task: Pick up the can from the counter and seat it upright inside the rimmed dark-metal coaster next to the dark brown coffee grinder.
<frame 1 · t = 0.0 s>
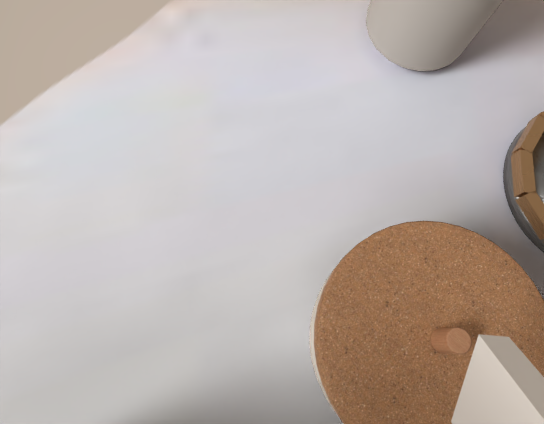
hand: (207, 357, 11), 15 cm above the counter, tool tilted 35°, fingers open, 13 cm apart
can: (410, 36, 33), on the counter
lidded jar: (382, 340, 26), on the counter
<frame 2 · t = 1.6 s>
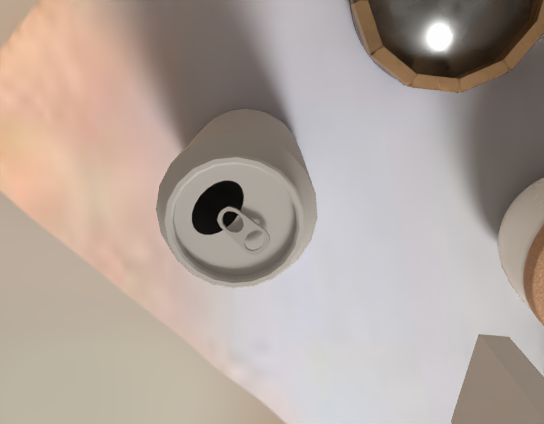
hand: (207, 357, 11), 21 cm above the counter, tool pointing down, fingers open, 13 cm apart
can: (247, 161, 30), on the counter
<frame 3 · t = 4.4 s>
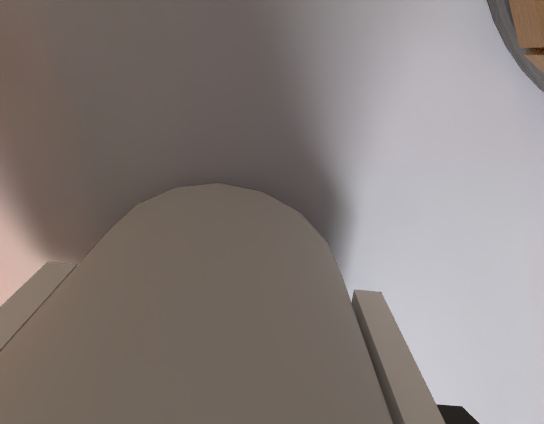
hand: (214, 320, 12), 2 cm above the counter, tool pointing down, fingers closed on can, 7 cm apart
can: (220, 287, 14), on the counter, touching gripper
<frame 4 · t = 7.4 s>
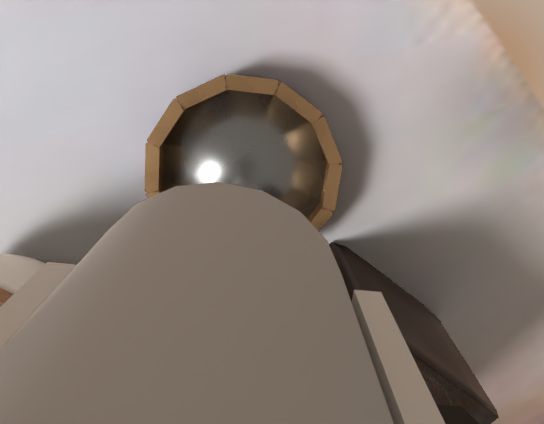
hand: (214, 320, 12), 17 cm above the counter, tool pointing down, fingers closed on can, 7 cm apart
can: (220, 286, 14), point 15 cm above the counter, touching gripper
coaster: (244, 169, 28), on the counter
dark brown coffee grinder: (315, 346, 33), on the counter
lidded jar: (35, 297, 31), on the counter
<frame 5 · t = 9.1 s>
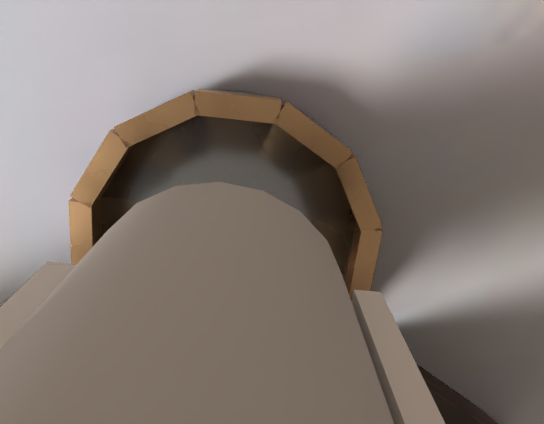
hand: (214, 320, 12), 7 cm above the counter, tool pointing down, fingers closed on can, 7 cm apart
can: (220, 286, 14), point 5 cm above the counter, touching gripper
coaster: (229, 232, 19), on the counter
when the fingers open (4 cm above the counter, at t = 10.5 s): can drops 1 cm, resting on coaster.
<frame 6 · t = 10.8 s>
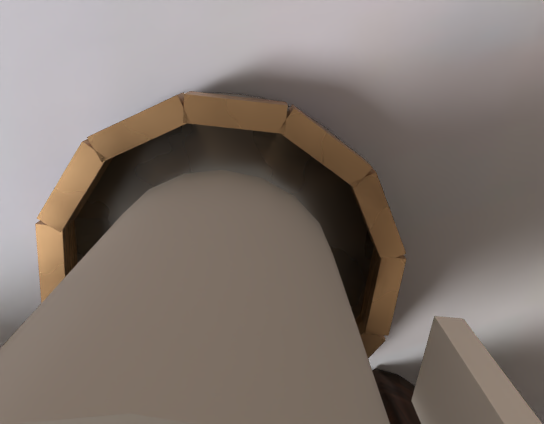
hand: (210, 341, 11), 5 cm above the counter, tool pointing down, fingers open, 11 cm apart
can: (223, 266, 15), point 1 cm above the counter, touching coaster
coaster: (226, 256, 16), on the counter
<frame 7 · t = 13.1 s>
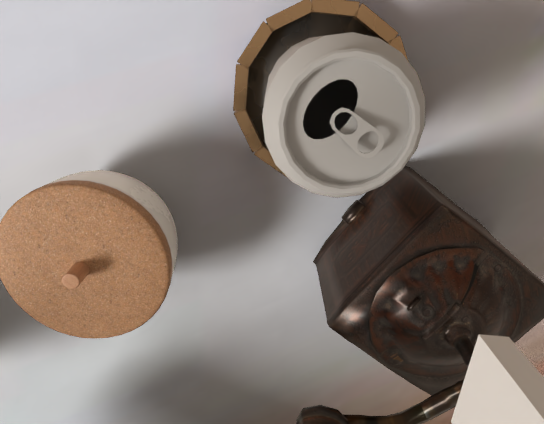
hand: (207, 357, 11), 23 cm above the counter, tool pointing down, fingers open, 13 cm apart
can: (320, 95, 30), point 1 cm above the counter, touching coaster
coaster: (319, 93, 31), on the counter
dark brown coffee grinder: (377, 266, 36), on the counter
lidded jar: (123, 219, 34), on the counter
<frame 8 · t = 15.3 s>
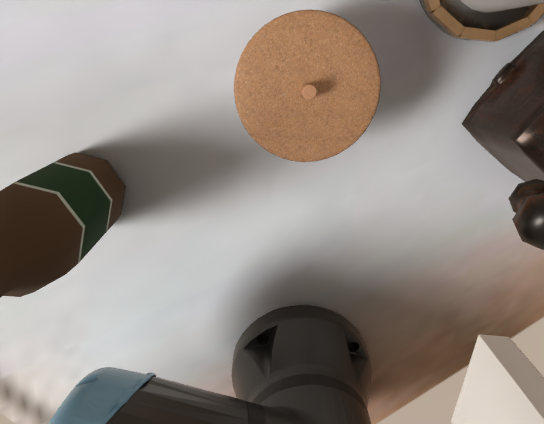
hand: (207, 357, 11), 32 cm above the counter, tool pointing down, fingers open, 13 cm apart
dark brown coffee grinder: (513, 131, 41), on the counter
lidded jar: (299, 83, 39), on the counter
beer bottle: (88, 189, 42), on the counter
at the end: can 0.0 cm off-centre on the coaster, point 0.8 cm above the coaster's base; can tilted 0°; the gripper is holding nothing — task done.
